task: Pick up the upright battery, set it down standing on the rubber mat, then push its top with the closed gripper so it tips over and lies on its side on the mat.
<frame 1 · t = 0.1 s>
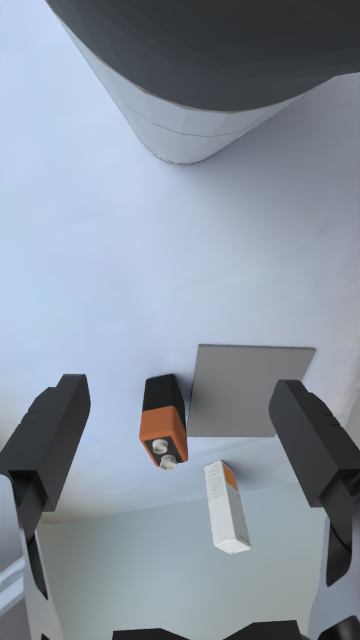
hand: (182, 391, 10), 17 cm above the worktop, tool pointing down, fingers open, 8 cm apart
rubber mat: (241, 396, 36), on the worktop
battery: (165, 389, 35), on the worktop
skincare box: (218, 467, 47), on the worktop
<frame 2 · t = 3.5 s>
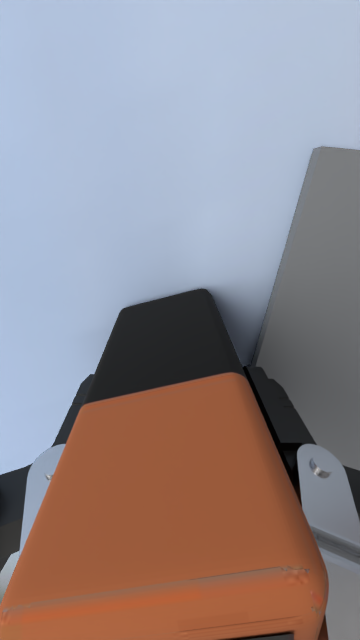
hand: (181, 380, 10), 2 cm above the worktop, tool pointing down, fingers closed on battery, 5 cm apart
battery: (180, 349, 12), on the worktop, touching gripper
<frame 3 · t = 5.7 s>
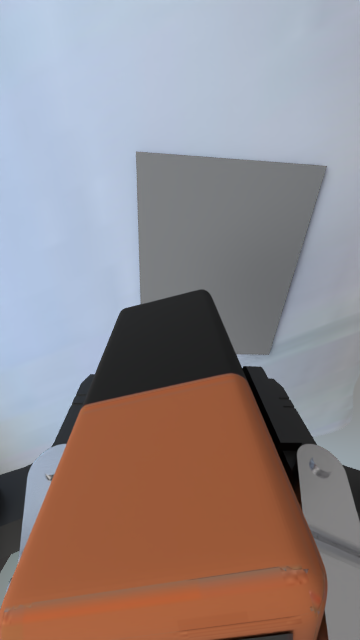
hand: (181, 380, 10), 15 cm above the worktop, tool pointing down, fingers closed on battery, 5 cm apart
rubber mat: (216, 274, 24), on the worktop
battery: (180, 350, 12), point 13 cm above the worktop, touching gripper
when the fingers open (3 cm above the worktop, at t = 8.4 s): battery stays where it is, resting on rubber mat.
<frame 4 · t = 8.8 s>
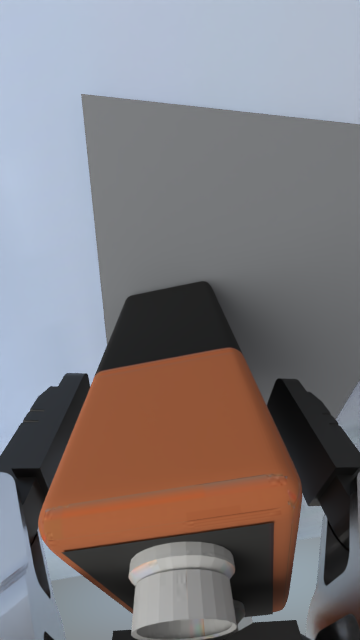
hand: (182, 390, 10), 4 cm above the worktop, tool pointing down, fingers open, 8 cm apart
rubber mat: (245, 340, 13), on the worktop
battery: (179, 339, 13), resting on rubber mat
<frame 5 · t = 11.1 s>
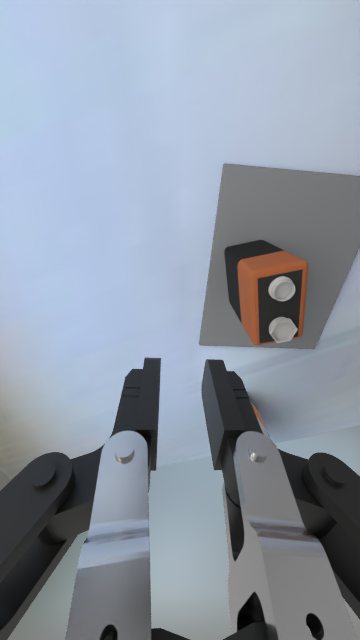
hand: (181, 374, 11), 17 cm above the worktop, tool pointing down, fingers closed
rubber mat: (277, 274, 26), on the worktop
battery: (244, 272, 26), resting on rubber mat
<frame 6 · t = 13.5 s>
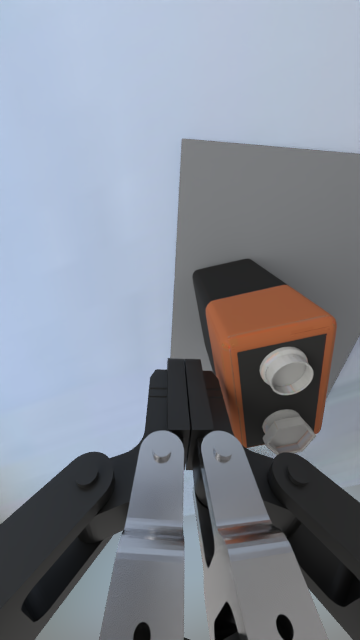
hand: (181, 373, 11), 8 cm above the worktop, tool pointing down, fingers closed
rubber mat: (272, 305, 18), on the worktop
battery: (225, 304, 18), resting on rubber mat, touching gripper
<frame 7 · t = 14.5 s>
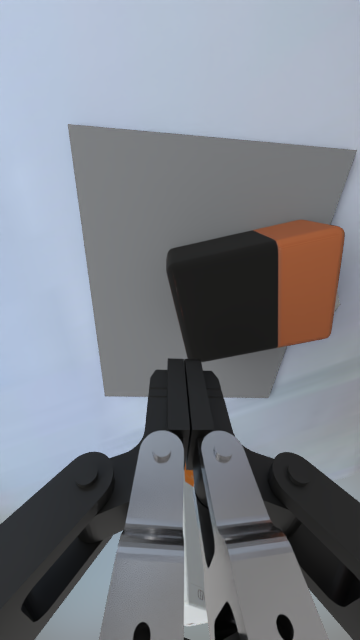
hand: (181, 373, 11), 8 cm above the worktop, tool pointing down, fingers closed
rubber mat: (198, 301, 18), on the worktop
battery: (173, 307, 15), point 3 cm above the worktop, touching rubber mat
skincare box: (180, 460, 29), on the worktop
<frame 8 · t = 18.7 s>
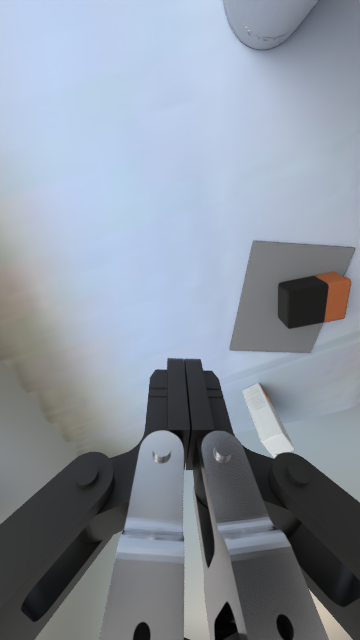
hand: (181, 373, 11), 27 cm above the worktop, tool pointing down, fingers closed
rubber mat: (284, 303, 39), on the worktop
battery: (281, 306, 37), point 3 cm above the worktop, touching rubber mat
skincare box: (255, 393, 50), on the worktop
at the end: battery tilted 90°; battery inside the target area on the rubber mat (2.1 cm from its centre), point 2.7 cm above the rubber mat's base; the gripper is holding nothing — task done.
